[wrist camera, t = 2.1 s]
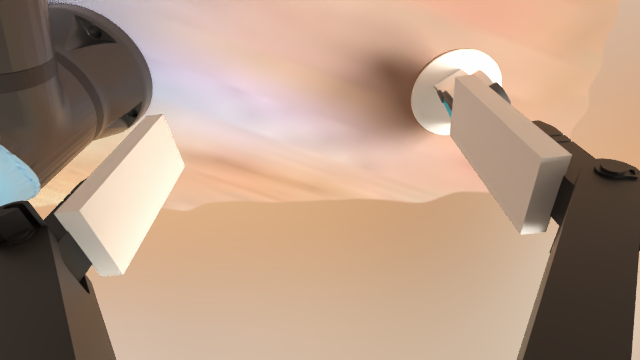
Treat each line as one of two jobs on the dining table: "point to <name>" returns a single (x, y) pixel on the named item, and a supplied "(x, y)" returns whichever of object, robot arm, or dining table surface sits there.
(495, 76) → the white piece
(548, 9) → the dining table surface
